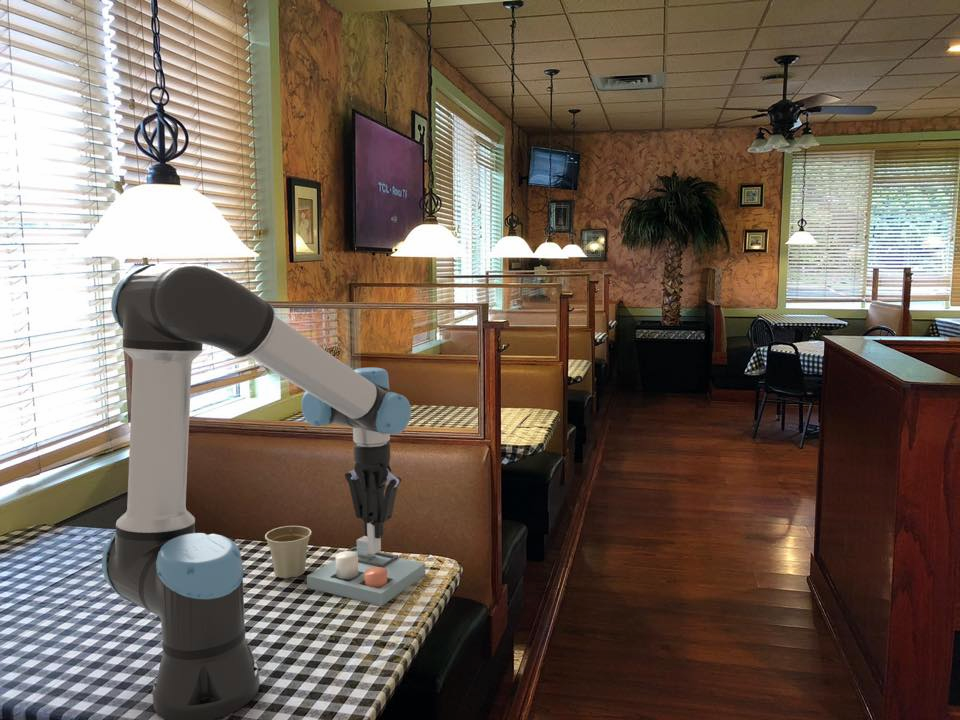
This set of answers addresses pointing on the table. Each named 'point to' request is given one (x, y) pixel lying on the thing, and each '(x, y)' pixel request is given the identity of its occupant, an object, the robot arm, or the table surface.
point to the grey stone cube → (363, 549)
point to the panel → (398, 578)
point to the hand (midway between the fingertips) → (374, 551)
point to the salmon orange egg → (376, 577)
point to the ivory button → (346, 564)
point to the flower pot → (288, 550)
